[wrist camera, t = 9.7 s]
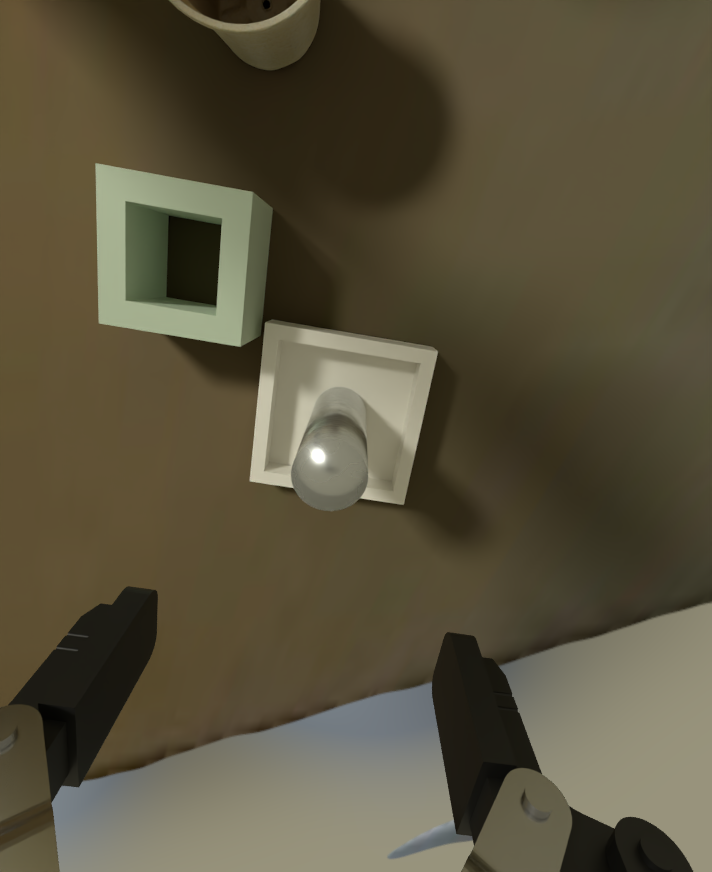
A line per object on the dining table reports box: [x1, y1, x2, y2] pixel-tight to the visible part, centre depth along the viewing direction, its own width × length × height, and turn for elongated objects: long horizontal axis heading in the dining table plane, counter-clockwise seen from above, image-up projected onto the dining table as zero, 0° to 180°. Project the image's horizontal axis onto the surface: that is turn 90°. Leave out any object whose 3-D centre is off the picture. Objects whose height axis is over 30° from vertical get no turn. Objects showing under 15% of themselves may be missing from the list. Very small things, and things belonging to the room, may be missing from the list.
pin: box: [291, 387, 368, 511], centre depth 29 cm, size 4×4×12 cm
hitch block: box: [96, 163, 273, 347], centre depth 29 cm, size 9×9×6 cm
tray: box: [250, 319, 438, 505], centre depth 34 cm, size 12×12×2 cm
